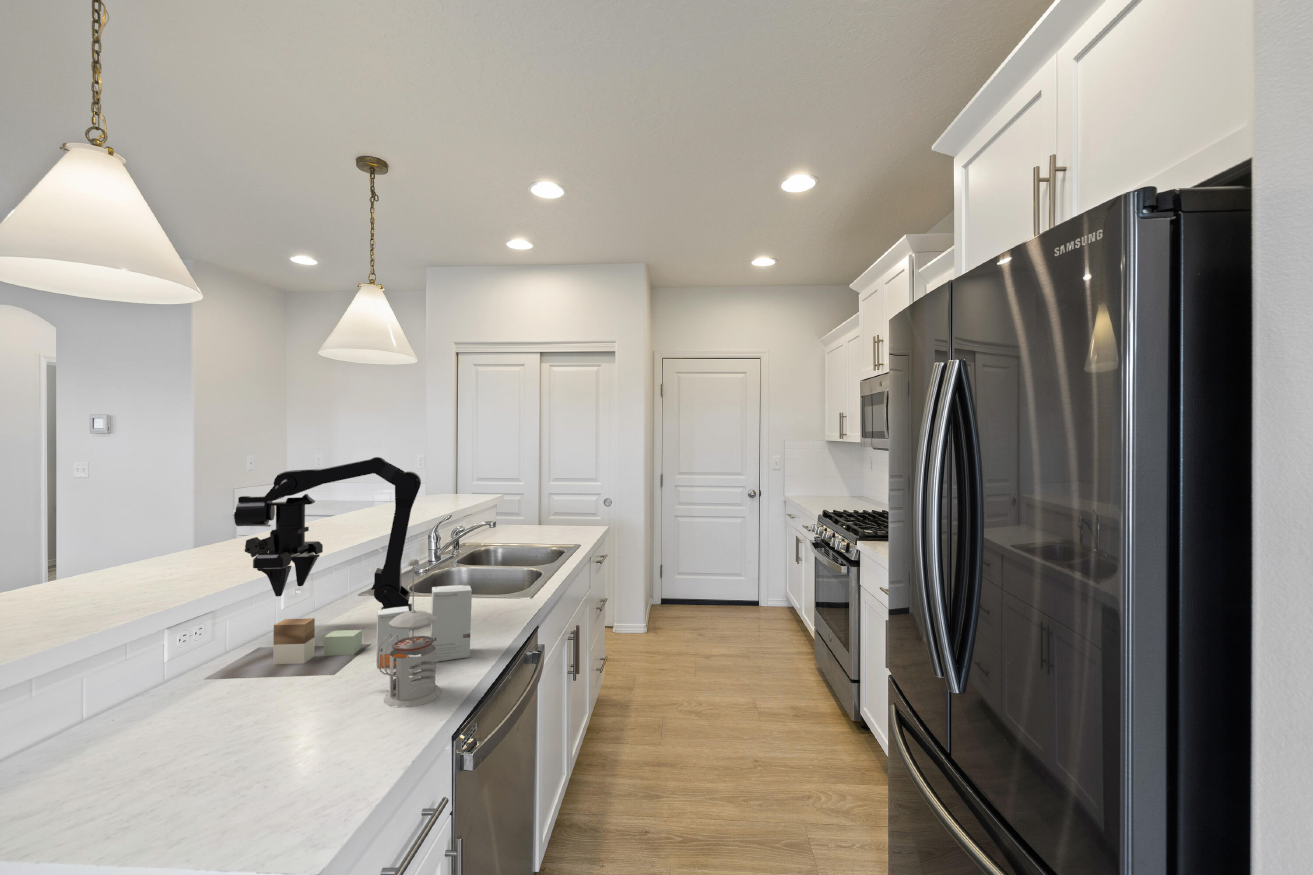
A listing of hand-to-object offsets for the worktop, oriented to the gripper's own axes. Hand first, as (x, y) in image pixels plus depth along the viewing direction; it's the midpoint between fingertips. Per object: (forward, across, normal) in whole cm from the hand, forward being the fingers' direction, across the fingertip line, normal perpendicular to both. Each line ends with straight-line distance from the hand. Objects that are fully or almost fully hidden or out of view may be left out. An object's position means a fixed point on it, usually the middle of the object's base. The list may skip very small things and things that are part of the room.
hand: (289, 590), depth 131 cm
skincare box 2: (+12, +12, +40) cm, 43 cm away
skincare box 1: (+12, +18, +30) cm, 37 cm away
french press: (+12, +32, +37) cm, 51 cm away
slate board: (+12, +15, +9) cm, 21 cm away
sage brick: (+11, +11, +17) cm, 23 cm away
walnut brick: (+7, +15, +9) cm, 18 cm away
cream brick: (+11, +15, +9) cm, 20 cm away
